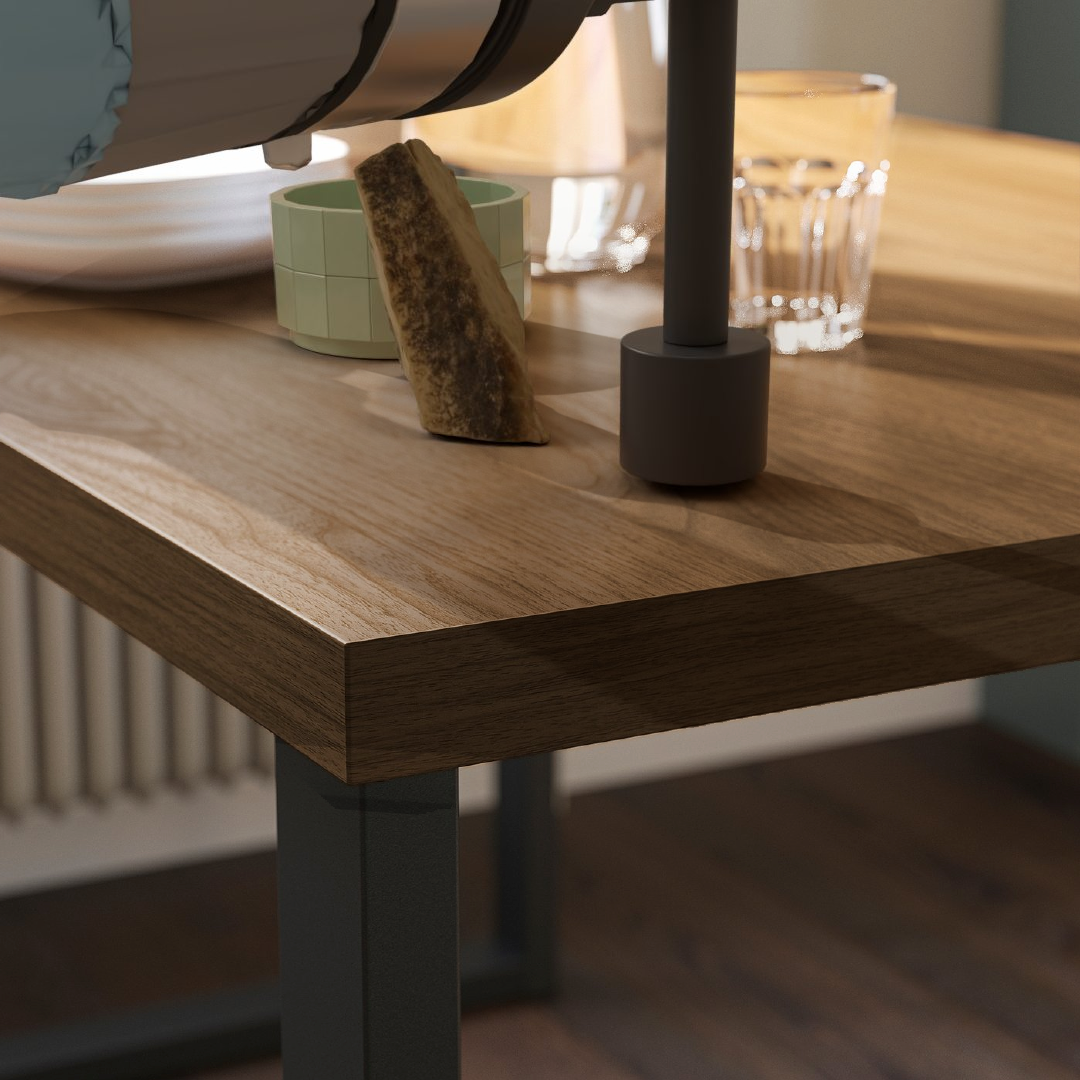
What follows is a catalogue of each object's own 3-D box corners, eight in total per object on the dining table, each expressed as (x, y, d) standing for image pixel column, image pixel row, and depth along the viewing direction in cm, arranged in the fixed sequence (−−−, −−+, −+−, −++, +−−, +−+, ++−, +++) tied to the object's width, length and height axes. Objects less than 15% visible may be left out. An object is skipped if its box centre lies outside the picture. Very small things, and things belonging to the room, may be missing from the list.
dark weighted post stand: (611, 483, 53) (616, -403, 45) (628, 441, 58) (636, -375, 50) (763, 489, 53) (796, -409, 45) (769, 446, 57) (800, -380, 49)
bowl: (243, 358, 71) (233, 210, 69) (318, 304, 81) (312, 173, 79) (504, 366, 70) (502, 214, 68) (548, 309, 80) (547, 176, 78)
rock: (341, 305, 70) (235, 322, 60) (469, 131, 67) (379, 121, 57) (547, 482, 69) (472, 529, 59) (685, 313, 66) (629, 334, 57)
